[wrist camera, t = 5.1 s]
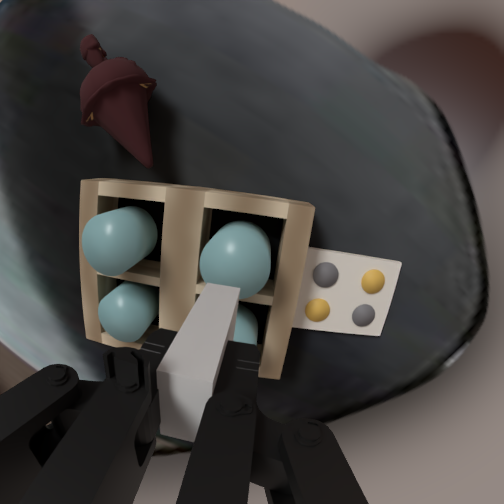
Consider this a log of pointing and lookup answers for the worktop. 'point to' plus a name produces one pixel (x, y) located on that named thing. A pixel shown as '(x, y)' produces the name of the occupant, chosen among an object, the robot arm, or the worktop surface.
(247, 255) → the teal blunt tapered piece
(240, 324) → the teal domed cylinder
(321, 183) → the worktop surface
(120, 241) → the teal blunt egg shape
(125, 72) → the icecream
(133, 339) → the teal rounded lump
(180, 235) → the wooden compartment tray
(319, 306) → the card
